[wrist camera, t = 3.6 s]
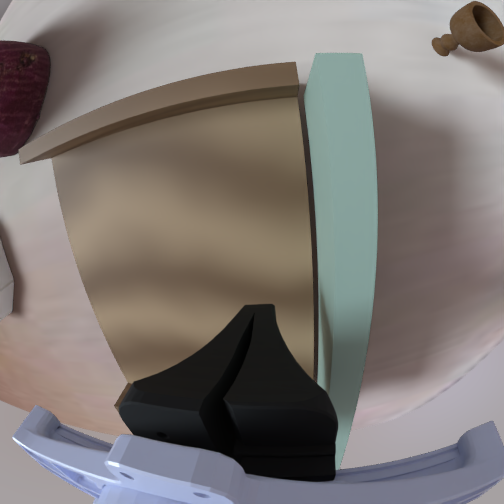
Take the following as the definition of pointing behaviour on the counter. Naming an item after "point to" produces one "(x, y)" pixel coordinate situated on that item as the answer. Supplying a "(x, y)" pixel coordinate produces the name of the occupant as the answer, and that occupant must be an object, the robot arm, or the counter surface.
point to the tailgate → (343, 225)
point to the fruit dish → (5, 285)
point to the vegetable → (20, 92)
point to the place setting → (471, 30)
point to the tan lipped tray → (188, 213)
